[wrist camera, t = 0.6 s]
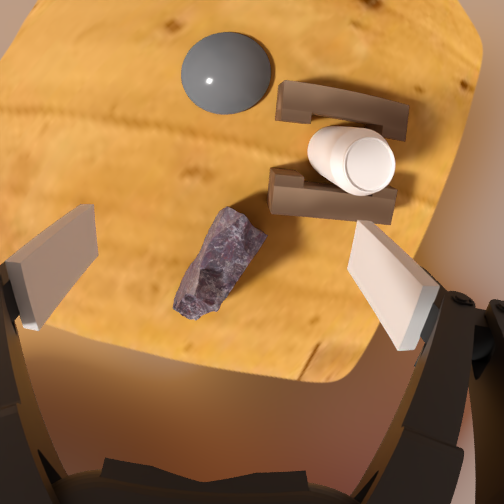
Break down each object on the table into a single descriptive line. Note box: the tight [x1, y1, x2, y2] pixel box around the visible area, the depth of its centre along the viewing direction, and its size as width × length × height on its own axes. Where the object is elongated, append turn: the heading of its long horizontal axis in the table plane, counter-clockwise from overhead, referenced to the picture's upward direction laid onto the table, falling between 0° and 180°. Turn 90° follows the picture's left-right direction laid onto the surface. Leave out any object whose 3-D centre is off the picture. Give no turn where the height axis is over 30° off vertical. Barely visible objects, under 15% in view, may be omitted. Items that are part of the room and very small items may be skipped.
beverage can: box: [308, 126, 395, 196], centre depth 31 cm, size 6×6×12 cm
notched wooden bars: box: [267, 80, 409, 225], centre depth 34 cm, size 14×14×5 cm
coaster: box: [181, 32, 271, 114], centre depth 32 cm, size 10×10×1 cm
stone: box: [173, 206, 268, 320], centre depth 36 cm, size 10×6×15 cm
